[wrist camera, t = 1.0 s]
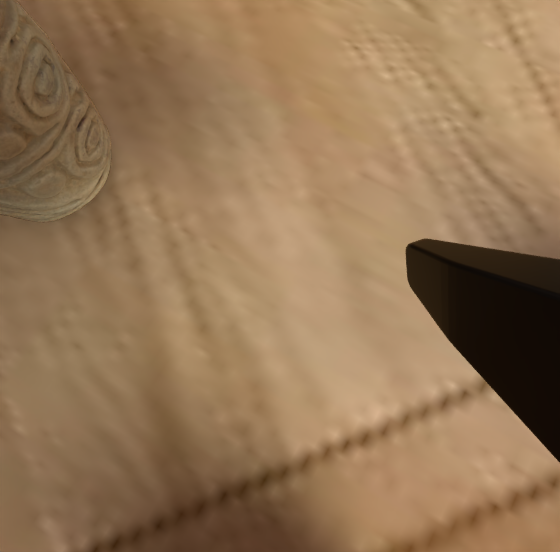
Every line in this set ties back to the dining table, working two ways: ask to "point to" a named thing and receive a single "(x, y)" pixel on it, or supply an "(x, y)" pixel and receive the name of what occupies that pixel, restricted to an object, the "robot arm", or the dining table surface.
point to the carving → (45, 127)
